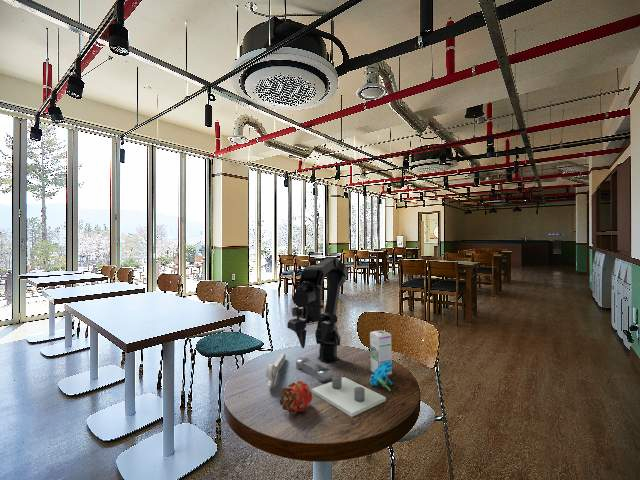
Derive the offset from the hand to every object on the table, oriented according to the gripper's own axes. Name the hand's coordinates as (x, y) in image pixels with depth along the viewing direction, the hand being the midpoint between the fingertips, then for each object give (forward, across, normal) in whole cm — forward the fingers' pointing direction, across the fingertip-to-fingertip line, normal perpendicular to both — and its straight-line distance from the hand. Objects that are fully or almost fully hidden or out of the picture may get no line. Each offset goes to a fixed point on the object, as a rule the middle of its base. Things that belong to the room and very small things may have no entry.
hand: (313, 345), depth 114 cm
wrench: (+10, +11, -7) cm, 17 cm away
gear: (+10, -12, +21) cm, 26 cm away
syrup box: (+10, -19, +15) cm, 26 cm away
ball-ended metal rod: (+10, 0, 0) cm, 10 cm away
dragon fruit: (+10, +19, +17) cm, 27 cm away
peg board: (+10, +2, +20) cm, 23 cm away
